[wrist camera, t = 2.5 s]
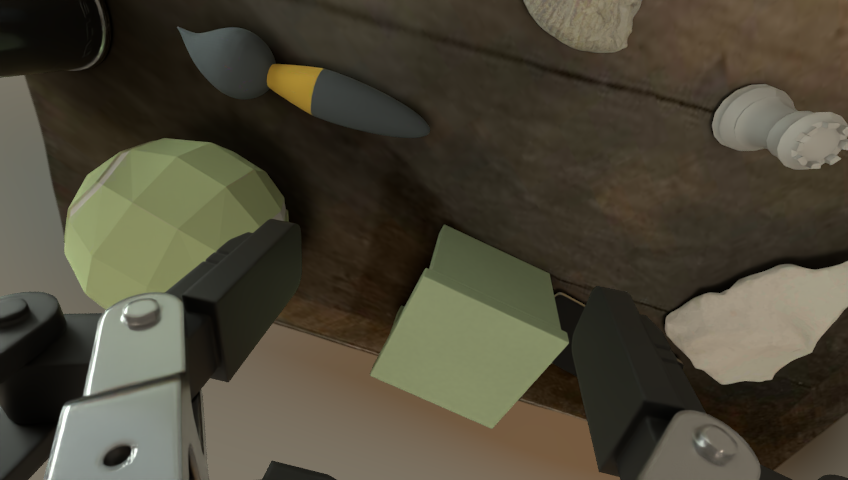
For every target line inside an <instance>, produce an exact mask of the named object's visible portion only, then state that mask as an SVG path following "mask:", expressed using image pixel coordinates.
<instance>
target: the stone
mask: <svg viewBox="0 0 848 480" xmlns="http://www.w3.org/2000/svg"><path fill="white" fill-rule="evenodd" d="M847 307H848V261H846V262H844V263H842V264H839V265H836V266H832V267H826V268H821V269H816V270H814V269H808V268H803V267H800V266H797V265H793V264H782V265H778V266H775V267H773V268H771V269H769V270H766V271H763V272H760V273H757V274H753V275H750V276H747V277H745V278H742V279H739V280H738V281H737V282H736V283H735V284H734V285H733V286H732V287H731V288H730V289H727V290H725V291H724V292H722V293H713V292H709V293H705V294H703V295H700V296H698V297H695V298H693V299H692V300H690V301H689V302H687V303H686V304H684V305H683V306H681V307H680V308H678V309H677V310H675V311H673V312H671V313H670V314H669V315H668V316H667V317H666V320H665V331H666V335H667V336H668V337H669V338H670V339H671V340H672V342H673V343H674V344H675V345H676V346H677V347H678V348H679V349H680V350H681V351H682V352H683V353H684V354H685V355H687V356H688V358H689V359H690V360H691V361H692V363H693V365H694V367H695V368H698V369H701V370H704V371H705V372H706V373H707V374H709V375H710V376H711V377H712V378H714V379H715V380H717V381H718V382H719V383H720V384H731V383H735V382H740V381H756V382H762V381H764V380H772V378H773V376H774V374H775V373H776V372H777V371H778V370H779V369H781V368H782V367H783V366H785V365H786V364H788V363H789V362H791V361H792V360H794V359H797V358H799V357H802V356H804V355H807V354H809V353H812V351H813V349H814V347H815V345H816V343H817V341H818V340H819V338H820V337H821V336H822V335H823V334H824V333H825V332H826V331H827V329H828V328H829V327H830V326H831V325H832V324H833V323H834V322H835V321H836V320H837V319H838V317H839V316H840V314H841V313H842V312H843V310H845V309H846V308H847Z"/></svg>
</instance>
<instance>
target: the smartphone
mask: <svg viewBox="0 0 848 480" xmlns="http://www.w3.org/2000/svg"><path fill="white" fill-rule="evenodd" d="M554 297H555V302H556V307H557V312H558V317H559V322H560V327H561V330H563V331H565V332H566V333H567V335H568V340H569V344H568V345H567V346H566V347H565V348H564V349H563V350H562V352H561V353H560V354H559V355H558V356H557V357H556V358H555V359H554V360H553V362H552V363H553V364H555V365H556V366H558V367H560V368H562V369H564V370H566V371H567V372H569V373H571V374H573V375H575V376H577V373H576V368H575V364H574V360H573V355H572V338H573V334H574V331H575V328H576V326H577V324H578V321H579V319H580V317H581V315H582V312H583V310H584V308H585V305H584V304H583V303H581V302H579V301H577V300H575V299H573V298H571V297H570V296H568V295H566V294H564V293H562V292H558V293H557V294H555V295H554ZM677 360H678V365H680V366H681V368H682V369H683V363H682V362H681V361H680V360H679V359H677Z"/></svg>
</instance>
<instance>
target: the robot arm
mask: <svg viewBox="0 0 848 480" xmlns="http://www.w3.org/2000/svg"><path fill="white" fill-rule="evenodd" d="M110 43H111V23H110V18H109V14H108V10H107V7H106V4H105V1H104V0H0V78H1V77H10V76H19V75H28V74H37V73H48V72H57V71H66V70H70V71H77V70H86V69H90V68H93V67H95V66H97V65H98V64H100V63H101V62H102V61H103V60H104V58H105V57H106V55H107V53H108V51H109V48H110ZM301 275H302V252H301V229H300V226H299V225H298V224H296V223H291V222H286V221H281V220H276V219H269V220H267V221H266V222H265V223H264V224H263V225H262V226H260V227H259V228H258V229H257V230H256V231H255V232H253V233H250V232H247V233H244V234H242V235H240V236H237V237H235V238H232V239H230V240H229V241H227V242H226V243H225V244H224V245H222V246H221V247H220V248H219V249H218V250H217V252H216V253H215V252H214V253H213V254H211V255H210V256H209V257H208V258H206V261H205V262H204V261H203V262H202V263H200V264H199V265H198V266H197V267H195V268H194V269H193V270H192V271H191V272H189V273H188V274H187V275H186V276H184V277H183V278H182V279H181V280H179V281H178V282H177V283H176V284H175V285H173V286H172V287H171V288H170V289H168V290H167V291H166V292H165V293H163V292H149V293H142V294H138V295H134V296H131V297H128V298H125V299H123V300H121V301H119V302H117V303H115V304H114V305H112V306H111V307H109V308H108V309H107V310H106V311H105V312H104V313H99V314H97V313H96V314H63V312H62V310H61V307H60V305H59V303H58V301H57V299H56V298H55V297H54V296H53V295H50V294H47V293H43V292H22V293H15V294H10V295H6V296H2V297H0V480H28V479H29V478H30V477H31V476H32V475H33V474H34V473H35V472H36V471H37V470H38V469H39V468H40V466H42V465H43V463H44V462H45V461H46V460H47V459H48V458H49V461H48V464H47V468H46V472H45V476H44V480H209V474H208V465H207V452H206V439H205V423H204V409H203V396H202V391H201V388H202V387H203V386H204V385H205V383H206V382H207V381H208V380H209V378H212V379H216V380H221V381H225V382H229V381H230V380H231V378H232V377H233V375H234V374H235V373H236V372H237V370H238V369H239V368H240V366H241V365H242V363H243V362H244V361H245V360H246V358H247V357H248V355H249V354H250V353H251V351H252V350H253V349H254V347H255V346H256V345H257V343H258V342H259V341H260V339H261V338H262V337H263V335H264V334H265V333H266V331H267V330H268V329H269V327H270V326H271V324H272V323H273V322H274V321H275V319H276V318H277V316H278V315H279V314H280V312H281V311H282V310H283V308H284V307H285V306H286V304H287V303H288V302H289V300H290V299H291V298H292V296H293V295H294V294H295V292H296V290H297V289H298V286H299V283H300V280H301ZM670 349H671V347H670V345H669V343H668V342H667V340H666V338H665V336H664V334H663V332H662V331H661V330H660V329H659V328H658V327H657V326H656V325H655V324H654V323H653V322H652V321H651V320H650V319H649V318H648V317H647V316H646V315H641V314H639V312H638V310H637V308H636V306H635V304H634V302H633V300H632V298H631V296H630V294H629V293H628V292H625V291H620V290H615V289H610V288H605V287H600V286H596V287H595V288H594V289H593V290H592V292H591V294H590V296H589V299H588V301H587V303H586V305H585V308H584V310H583V312H582V315H581V317H580V319H579V321H578V324H577V326H576V328H575V331H574V334H573V338H572V355H573V360H574V364H575V368H576V373H577V377H578V382H579V386H580V390H581V395H582V399H583V403H584V408H585V412H586V417H587V421H588V425H589V430H590V434H591V439H592V443H593V447H594V451H595V456H596V461H597V465H598V469H599V472H602V473H606V474H610V475H614V476H619V477H620V479H621V480H792V479H790V478H788V477H785V476H783V475H781V474H779V473H777V472H775V471H773V470H771V469H769V468H766V467H764V466H762V465H760V464H759V461H758V459H757V457H756V455H755V453H754V452H753V450H752V449H751V447H750V446H749V445H748V444H747V442H746V441H745V440H744V439H743V438H742V437H741V436H740V435H739V434H738V433H737V432H735V431H734V430H733V429H732V428H730V427H729V426H727V425H726V424H725V423H723V422H721V421H720V420H718V419H716V418H714V417H712V416H710V415H708V414H706V413H705V411H704V409H703V407H702V405H701V403H700V401H699V399H698V398H697V396H696V394H695V392H694V390H693V388H692V386H691V385H690V383H689V381H688V379H687V377H686V375H685V373H684V371H683V370H682V368H681V366H680V365H678V360H677V358H676V356H675V355H674V353H673V351H670ZM262 480H336V479H334V478H333V477H331V476H329V475H327V474H323V473H319V472H315V471H311V470H307V469H303V468H299V467H295V466H291V465H287V464H283V463H279V462H275V461H271V463H270V465H269V467H268V469H267V471H266V473H265V475H264V477H263V479H262ZM818 480H848V478H845V477H842V476H838V475H825V476H822V477H821V478H819V479H818Z"/></svg>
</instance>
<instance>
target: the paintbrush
mask: <svg viewBox="0 0 848 480" xmlns="http://www.w3.org/2000/svg"><path fill="white" fill-rule="evenodd" d="M177 28H178V30H179V31H180V34H181V36H182V38H183V41H184V43H185V45H186V48H187V50H188V52H189V54H190V56H191V58H192V60H193V62H194V63H195V65H196V66H197V68H198V69H199V70H200V72H201V73H202V74H203V75H204V76H205V78H206V79H207V80H208V81H209V82H210V83H211V84H212V85H213V86H214V87H215V88H217V89H218V90H219V91H221V92H222V93H224V94H225V95H227V96H230V97H233V98H236V99H253V98H256V97H259V96H261V95H263V94H264V93H266V92H267V91H268V90H269V89H272V90H273V91H274V92H276V93H277V94H279V95H280V96H282V97H283V98H285V99H286V100H288V101H289V102H291V103H292V104H294V105H296V106H297V107H299V108H300V109H302V110H304V111H305V112H307V113H309V114H311V115H313V116H315V117H317V118H320V119H323V120H325V121H328V122H332V123H335V124H338V125H341V126H345V127H348V128H352V129H356V130H360V131H364V132H369V133H374V134H379V135H385V136H391V137H400V138H418V137H423V136H426V135H428V134H429V132H430V128H429V126H428V124H427V123H426V122H425V120H424V119H423V118H422V117H421V116H419V115H418V114H417V113H416V112H414V111H413V110H412V109H410V108H409V107H407V106H406V105H404V104H402V103H401V102H399V101H397V100H395V99H394V98H392V97H390V96H388V95H386V94H384V93H382V92H381V91H378V90H376V89H374V88H372V87H370V86H368V85H366V84H364V83H362V82H359V81H357V80H355V79H352V78H350V77H347V76H345V75H342V74H339V73H337V72H334V71H331V70H328V69H323V68H317V67H309V66H299V65H287V64H276V62H275V59H274V56H273V54H272V52H271V50H270V48H269V47H268V46H267V44H266V43H265V42H264V41H263V40H262V39H261V38H260V37H258V36H257V35H256V34H254V33H252V32H250V31H248V30H246V29H242V28H236V27H229V28H222V29H217V30H213V31H209V32H205V33H193V32H190V31H187V30H185V29H183V28H180V27H177Z"/></svg>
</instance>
